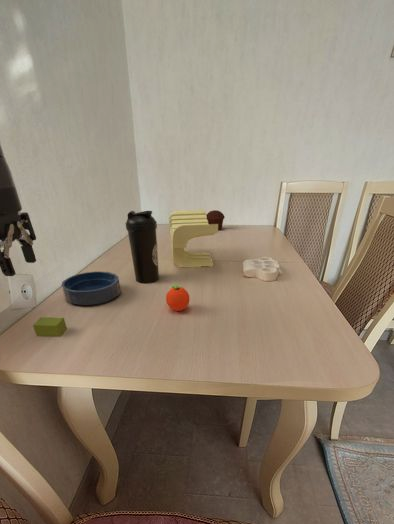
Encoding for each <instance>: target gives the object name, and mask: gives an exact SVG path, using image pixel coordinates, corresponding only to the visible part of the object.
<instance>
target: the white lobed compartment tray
mask: <svg viewBox="0 0 394 524" xmlns="http://www.w3.org/2000/svg"><path fill="white" fill-rule="evenodd" d="M280 267H282V265H280V264H279V262H278V261H277V260H274V258H273V257H269V256H260V257H258V258H255V259H254V258H253V259H246V260H244V261H242V271H243V275H244V276H245V277H247V278H256V279H259V280H260V281H263V282H274V281H276V280H277V278H278V277H279V274H281V273H283V272H284V271H283V270H282V269H280Z"/></svg>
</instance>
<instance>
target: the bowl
mask: <svg viewBox="0 0 394 524" xmlns="http://www.w3.org/2000/svg"><path fill="white" fill-rule="evenodd" d="M119 278H120V277H119V276H118V275H117V274H116V273H113V272H110V271H87V272H82V273H81V272H80V273H78V274H74V275H72V276H69V277H67V278H65V279H64V280H63V281H61V285H60V287H61V291H62V293H63V297H64V299H65V301H67V302H69V303H70V304H73V305H78V306H79V305H80V306H95V305H101V304H104V303H108V302H111V300H113V299H115V298H116V297H117V296H119V295H120V293H122V292H121V283H120V279H119Z"/></svg>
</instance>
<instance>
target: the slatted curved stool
mask: <svg viewBox="0 0 394 524" xmlns="http://www.w3.org/2000/svg"><path fill="white" fill-rule="evenodd" d="M206 215H207V213H206V209H187V210H186V209H185V210H175V211H172V212H171V213H170V215H169V217H168V225H169V226H168V228H169V229H168V230H169V233H170V244H171V245H170V247H171V254H172V258H173V259H172V260H173V262H174V264H175V266H177V267H179V268H181V267H191V268H202V267H201V266H209V267H214V260H213V259H212V257H211V255H210V253H209V252H190V251H186V250H185V249H186V248H187V244H188V243H189V241H190V240H192V239H195V238H199V237H200V238H201V237H207V236H208V237H209V236H214V235H216V234H217V233H219V231H218V224H208V220H207V216H206Z"/></svg>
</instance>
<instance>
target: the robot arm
mask: <svg viewBox="0 0 394 524" xmlns="http://www.w3.org/2000/svg"><path fill="white" fill-rule="evenodd" d="M22 209H23V207H22V203H21V200H20V197H19V194H18V191H17V187H16V183H15V181H14V177H13V174H12V171H11V169H10V166H9V164H8V162H7V159H6V157H5V154H4V151H3V147H2V144H1V142H0V271H1V273H2V274H3V276H5V277H14V276H16V275H17V273H16V270H15V268H14V264H13V262H12V258H11V257H9V256H10V249H11V248H12V246H13V243H14V242H15V241H17V243H18V244H19V245H20V249H21V252H22V255H23V258H24V262H25V263H26V264H27V263H28V264H35V263H36V262H37V259H36V255H35V251H34V248H33V245H34V241H36V240H37V236H36V232H35V230H34V227H33V224H32V221H31V217H30V215H29V213H28V212H23V211H22ZM1 248H2V250H1Z"/></svg>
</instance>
